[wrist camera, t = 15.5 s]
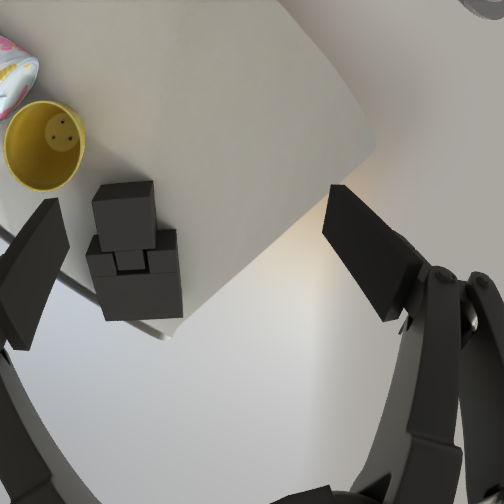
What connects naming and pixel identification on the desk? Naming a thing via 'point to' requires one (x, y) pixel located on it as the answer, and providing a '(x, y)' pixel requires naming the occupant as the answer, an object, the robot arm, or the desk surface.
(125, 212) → the tab pad
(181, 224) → the desk surface
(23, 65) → the pencil case
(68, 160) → the flower pot
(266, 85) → the desk surface
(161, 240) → the notch pad
